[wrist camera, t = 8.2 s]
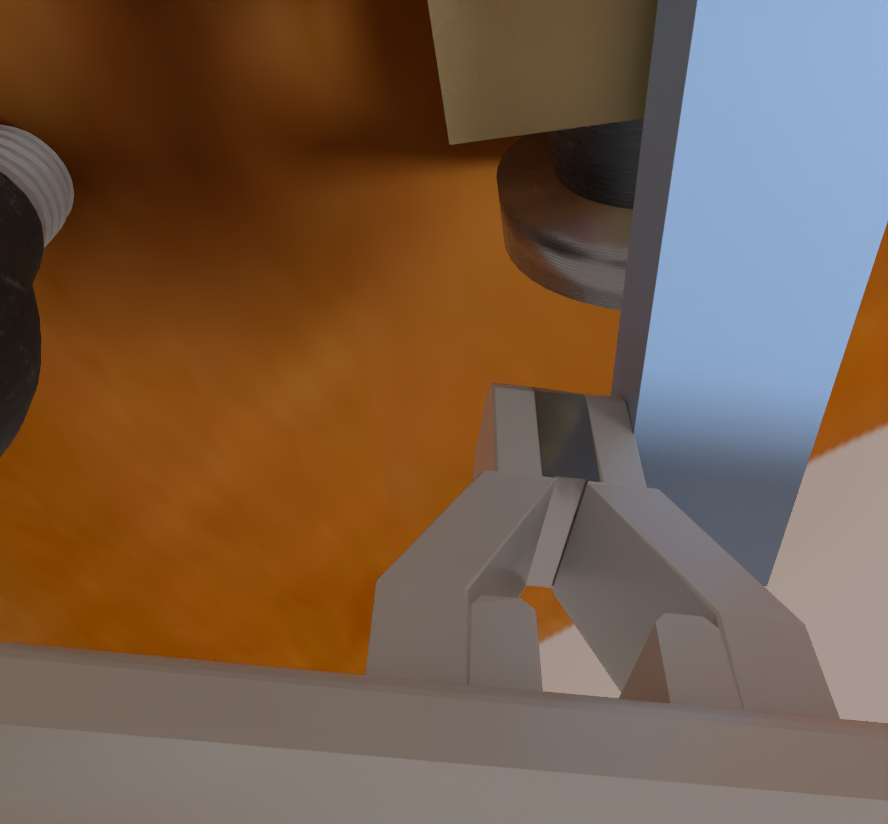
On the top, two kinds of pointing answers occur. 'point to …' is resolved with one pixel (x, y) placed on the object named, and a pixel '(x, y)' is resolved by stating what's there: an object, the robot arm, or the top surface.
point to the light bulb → (24, 262)
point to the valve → (554, 126)
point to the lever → (750, 250)
